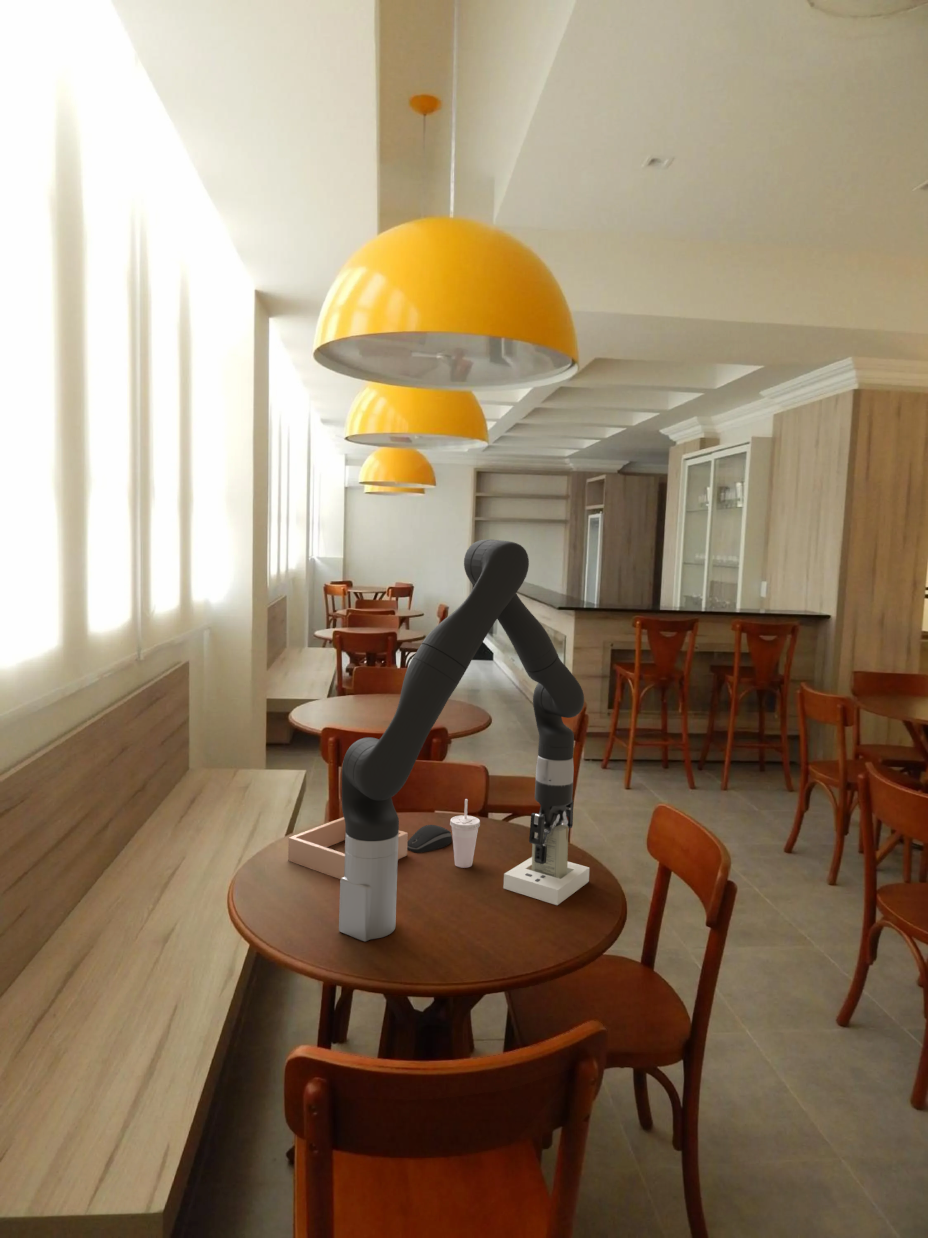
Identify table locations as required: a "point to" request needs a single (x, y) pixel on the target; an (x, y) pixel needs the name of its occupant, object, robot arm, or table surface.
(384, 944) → the table surface
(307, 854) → the pink square tray
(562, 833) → the skincare box
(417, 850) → the computer mouse
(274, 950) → the table surface
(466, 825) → the smoothie
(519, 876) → the socket board
